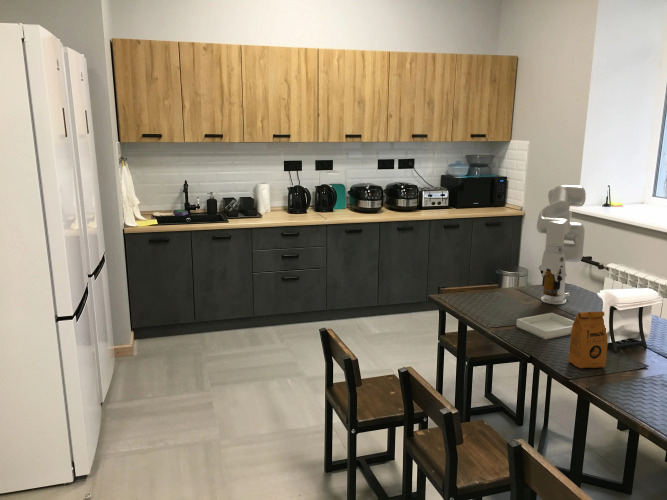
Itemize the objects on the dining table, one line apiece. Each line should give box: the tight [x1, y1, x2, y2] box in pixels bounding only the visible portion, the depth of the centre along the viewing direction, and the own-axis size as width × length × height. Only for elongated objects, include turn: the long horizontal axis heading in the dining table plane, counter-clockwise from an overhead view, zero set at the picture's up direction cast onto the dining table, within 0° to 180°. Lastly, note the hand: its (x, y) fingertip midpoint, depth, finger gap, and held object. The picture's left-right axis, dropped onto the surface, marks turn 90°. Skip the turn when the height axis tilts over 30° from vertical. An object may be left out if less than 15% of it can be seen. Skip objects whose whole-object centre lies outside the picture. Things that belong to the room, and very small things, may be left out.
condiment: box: [539, 269, 565, 297], centre depth 256 cm, size 7×8×12 cm
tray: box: [515, 312, 574, 340], centre depth 260 cm, size 22×18×4 cm
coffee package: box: [568, 311, 609, 369], centre depth 219 cm, size 10×12×22 cm
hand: (550, 287), depth 257 cm, fingers closed on condiment, 6 cm apart
